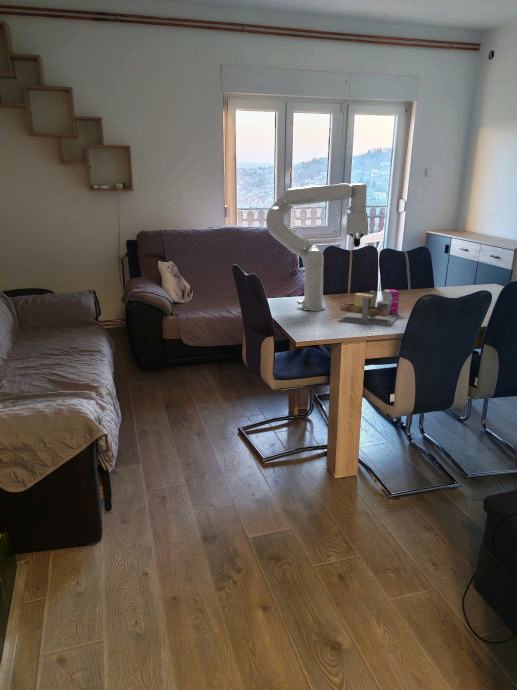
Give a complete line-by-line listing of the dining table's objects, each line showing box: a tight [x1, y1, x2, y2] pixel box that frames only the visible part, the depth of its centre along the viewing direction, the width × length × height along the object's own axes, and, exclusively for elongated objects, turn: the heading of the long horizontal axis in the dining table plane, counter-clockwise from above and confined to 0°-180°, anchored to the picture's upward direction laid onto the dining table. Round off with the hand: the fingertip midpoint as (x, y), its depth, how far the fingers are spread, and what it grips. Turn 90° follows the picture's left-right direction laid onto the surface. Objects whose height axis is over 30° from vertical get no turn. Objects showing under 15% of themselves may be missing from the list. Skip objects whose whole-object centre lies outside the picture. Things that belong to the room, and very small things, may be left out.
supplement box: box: [382, 288, 400, 315], centre depth 258 cm, size 6×6×12 cm
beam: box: [340, 300, 390, 317], centre depth 246 cm, size 22×6×8 cm, turn 65°
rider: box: [353, 292, 374, 309], centre depth 245 cm, size 8×4×7 cm, turn 65°
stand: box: [337, 290, 398, 327], centre depth 245 cm, size 25×17×13 cm
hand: (356, 246), depth 261 cm, fingers closed
